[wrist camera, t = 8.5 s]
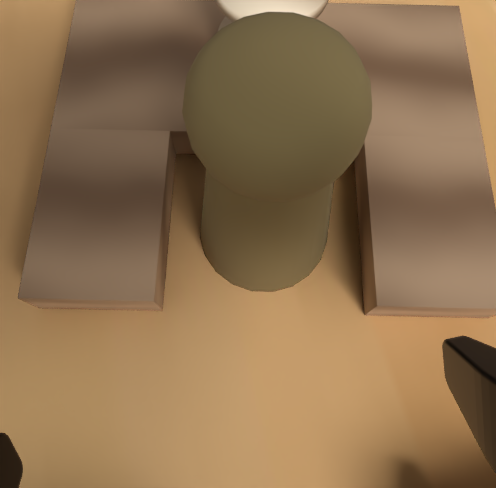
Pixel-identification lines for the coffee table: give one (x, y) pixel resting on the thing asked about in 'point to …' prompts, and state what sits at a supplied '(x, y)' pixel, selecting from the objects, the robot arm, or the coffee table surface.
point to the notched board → (177, 142)
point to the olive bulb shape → (273, 142)
